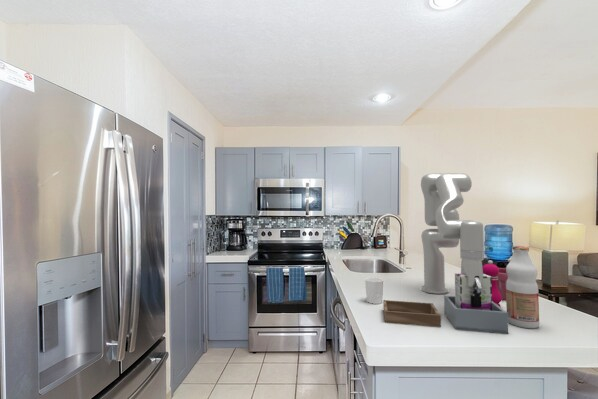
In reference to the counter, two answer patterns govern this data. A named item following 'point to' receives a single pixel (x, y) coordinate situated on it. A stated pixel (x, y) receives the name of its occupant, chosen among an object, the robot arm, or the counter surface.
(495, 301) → the pepper mill
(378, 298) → the white cup
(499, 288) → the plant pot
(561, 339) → the counter surface
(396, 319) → the wooden rectangular frame
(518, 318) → the fruit juice
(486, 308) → the snack bar box
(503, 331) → the slate bin
